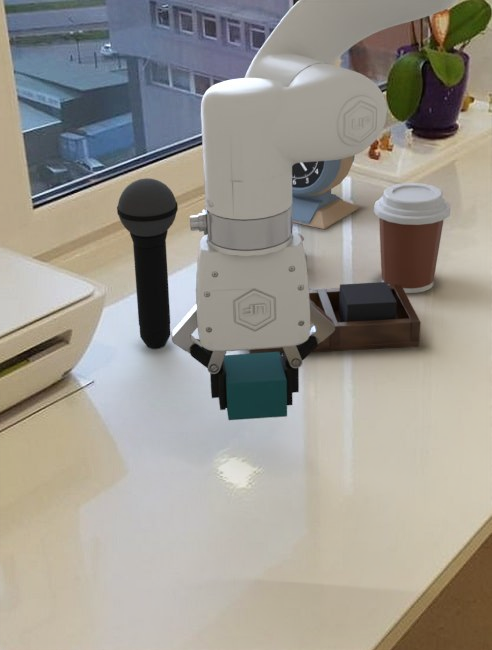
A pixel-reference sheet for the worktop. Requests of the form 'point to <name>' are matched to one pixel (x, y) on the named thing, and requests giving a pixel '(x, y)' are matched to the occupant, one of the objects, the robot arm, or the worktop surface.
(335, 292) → the brown wooden divided tray
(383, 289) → the charcoal block
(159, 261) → the microphone
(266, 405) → the teal block
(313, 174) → the alarm clock
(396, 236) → the coffee cup
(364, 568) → the worktop surface
